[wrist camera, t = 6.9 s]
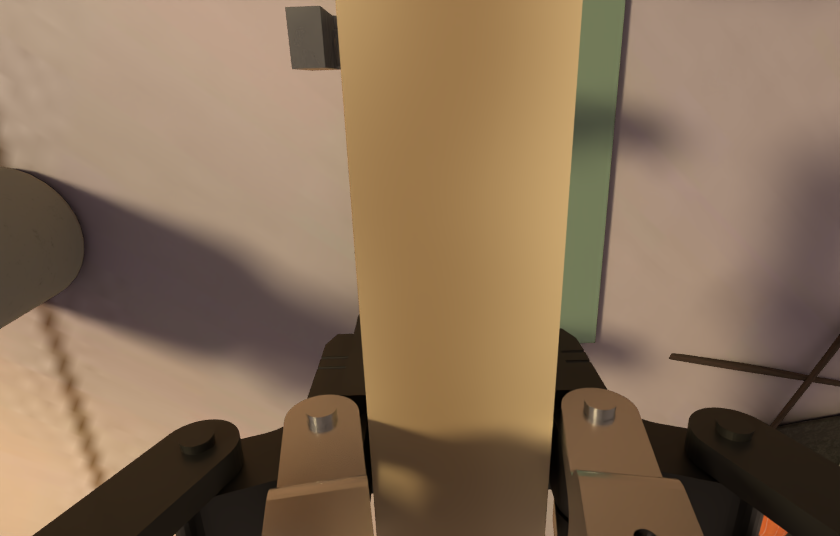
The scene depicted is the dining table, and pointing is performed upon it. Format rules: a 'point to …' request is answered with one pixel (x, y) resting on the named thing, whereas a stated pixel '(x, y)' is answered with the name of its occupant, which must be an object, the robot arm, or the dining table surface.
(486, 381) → the beech rail
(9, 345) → the dining table surface
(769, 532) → the sushi plate
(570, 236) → the rubber mat
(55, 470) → the dining table surface
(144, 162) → the dining table surface
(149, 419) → the dining table surface
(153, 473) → the robot arm
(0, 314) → the water bottle
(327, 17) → the rail stand
